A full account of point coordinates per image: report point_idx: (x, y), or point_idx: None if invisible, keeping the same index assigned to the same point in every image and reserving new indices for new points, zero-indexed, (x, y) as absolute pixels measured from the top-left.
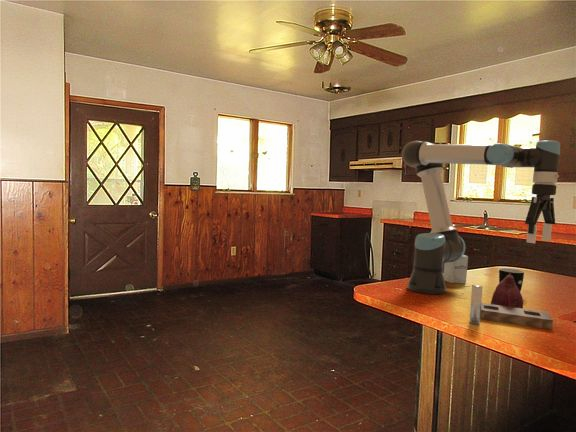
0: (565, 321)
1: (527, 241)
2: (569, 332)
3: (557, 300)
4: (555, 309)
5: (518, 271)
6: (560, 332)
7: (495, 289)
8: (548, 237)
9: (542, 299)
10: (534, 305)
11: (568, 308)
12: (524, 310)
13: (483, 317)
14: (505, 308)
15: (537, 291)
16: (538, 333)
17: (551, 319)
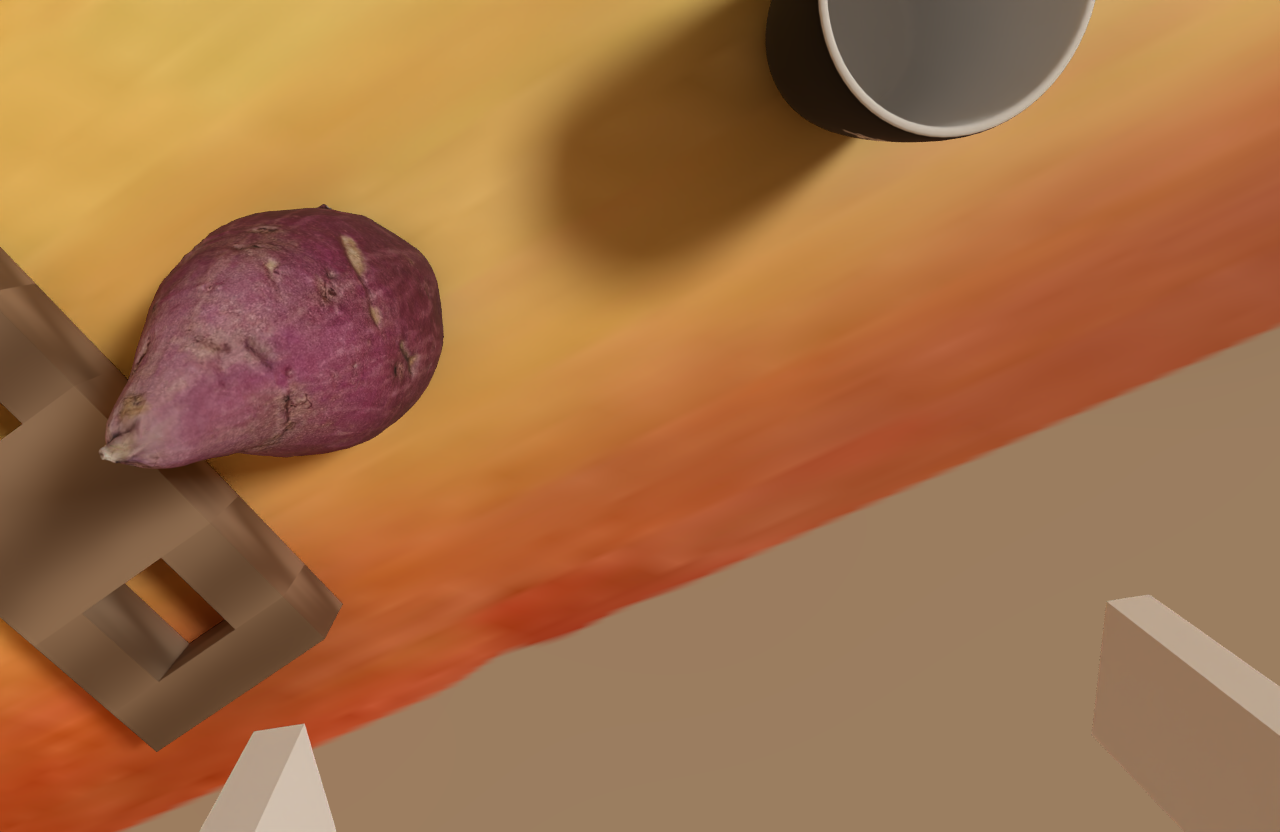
0: (460, 652)
1: (250, 766)
2: None
3: (1010, 353)
4: (704, 483)
5: (1070, 13)
6: (193, 748)
7: (184, 263)
8: (1155, 776)
9: (933, 283)
10: (667, 358)
11: (826, 506)
12: (171, 559)
13: None
14: (52, 472)
15: (1214, 99)
16: (25, 715)
17: (163, 740)
